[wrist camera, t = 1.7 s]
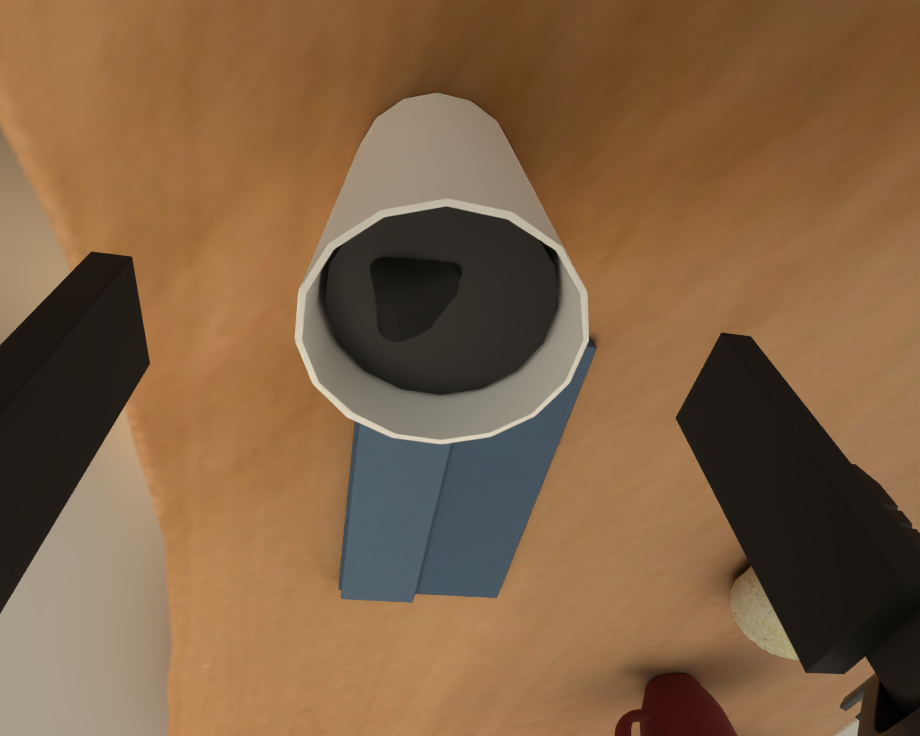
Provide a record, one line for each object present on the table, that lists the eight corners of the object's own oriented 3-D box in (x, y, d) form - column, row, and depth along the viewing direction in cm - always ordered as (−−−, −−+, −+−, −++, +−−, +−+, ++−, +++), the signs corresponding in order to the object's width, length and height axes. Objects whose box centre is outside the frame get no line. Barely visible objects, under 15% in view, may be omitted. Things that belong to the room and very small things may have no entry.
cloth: (366, 311, 24) (364, 327, 24) (594, 339, 26) (600, 356, 25) (339, 581, 37) (337, 599, 36) (496, 589, 38) (498, 607, 37)
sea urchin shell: (873, 628, 40) (834, 728, 35) (753, 563, 44) (706, 644, 40) (927, 548, 34) (890, 655, 30) (784, 483, 38) (732, 568, 34)
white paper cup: (349, 261, 23) (312, 445, 15) (333, 75, 19) (269, 195, 11) (518, 262, 23) (566, 443, 16) (538, 81, 19) (618, 201, 11)
